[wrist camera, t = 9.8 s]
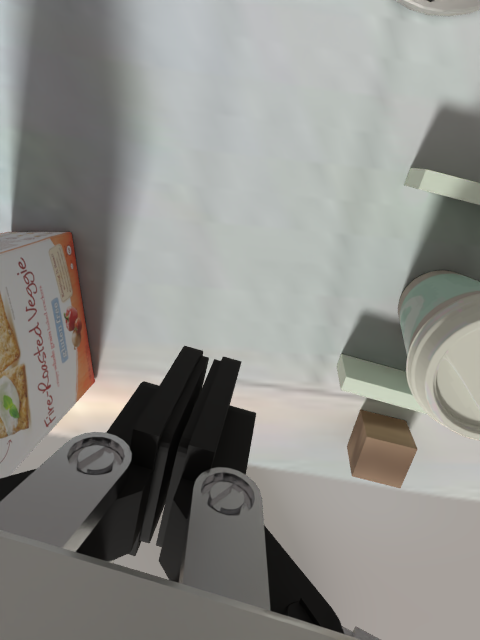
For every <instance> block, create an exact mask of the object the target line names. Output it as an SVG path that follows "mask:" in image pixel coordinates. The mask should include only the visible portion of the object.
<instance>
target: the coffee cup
mask: <svg viewBox="0 0 480 640" xmlns="http://www.w3.org/2000/svg"><path fill="white" fill-rule="evenodd" d="M398 315H399V320H400V325H401V330H402V334H403V339H404V344H405V348H406V353H407V362H406V376H407V381H408V385H409V388H410V391H411V393H412V395H413V397H414V398H415V400H416V401H417V403H418V404H419V405H420V406H421V407H422V408H423V410H424V411H425V412H426V413H427V414H428V415H429V416H430V417H431V418H433V419H434V420H435V421H437V422H438V423H440V424H441V425H443V426H445V427H447V428H448V429H450V430H451V431H453V432H455V433H457V434H459V435H461V436H464V437H467V438H470V439H474V440H478V441H480V282H479V281H476V280H474V279H471V278H469V277H466V276H463V275H461V274H458V273H455V272H452V271H445V270H439V271H432V272H428V273H426V274H423V275H421V276H419V277H418V278H416V279H415V280H413V281H412V282H411V283H410V284H409V285H408V286H407V287H406V288H405V290H404V291H403V293H402V295H401V297H400V300H399V304H398Z"/></svg>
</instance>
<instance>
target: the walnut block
mask: <svg viewBox="0 0 480 640" xmlns="http://www.w3.org/2000/svg"><path fill="white" fill-rule="evenodd" d="M347 449H348V455H349V461H350V467H351V473H352V476H353V477H357V478H361V479H365V480H369V481H373V482H377V483H381V484H385V485H389V486H393V487H397V488H401V485H402V483H403V481H404V479H405V476H406V474H407V472H408V470H409V467H410V465H411V463H412V460H413V458H414V456H415V454H416V451H417V447H416V445H415V442H414V440H413V437H412V435H411V432H410V430H409V427H408V425H407V422H406V421H405V420H401V419H397V418H393V417H389V416H385V415H381V414H376V413H372V412H368V411H364V410H360V412H359V415H358V417H357V420H356V423H355V426H354V428H353V431H352V434H351V437H350V439H349V442H348V445H347Z"/></svg>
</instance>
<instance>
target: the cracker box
mask: <svg viewBox="0 0 480 640" xmlns="http://www.w3.org/2000/svg"><path fill="white" fill-rule="evenodd" d="M94 382H95V379H94V374H93V368H92V361H91V354H90V348H89V343H88V336H87V330H86V323H85V316H84V310H83V303H82V297H81V291H80V284H79V278H78V271H77V264H76V258H75V251H74V245H73V239H72V233H71V232H6V233H1V234H0V478H4V477H8V476H10V475H11V474H12V473H13V472H14V471H15V469H16V468H17V467H18V466H19V465H20V464H21V463H22V462H23V461H24V459H25V458H26V457H27V456H28V455H29V454H30V453H31V452H32V451H33V450H34V448H35V447H36V446H37V445H38V444H39V443H40V442H41V441H42V440H43V439H44V438H45V436H46V435H47V434H48V433H49V432H50V431H51V430H52V429H53V427H54V426H55V425H56V424H57V423H58V422H59V421H60V420H61V419H62V418H63V416H64V415H65V414H66V413H67V412H68V411H69V410H70V409H71V408H72V407H73V406H74V404H75V403H76V402H77V401H78V400H79V399H80V398H81V397H82V396H83V394H84V393H85V392H86V391H87V390H88V389H89V388H90V387H91V386H92V384H93V383H94Z"/></svg>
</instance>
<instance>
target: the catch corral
mask: <svg viewBox="0 0 480 640" xmlns="http://www.w3.org/2000/svg"><path fill="white" fill-rule="evenodd" d="M404 185H405V186H409V187H413V188H416V189H420V190H424V191H428V192H432V193H436V194H439V195H443V196H447V197H451V198H455V199H459V200H462V201H466V202H470V203H474V204H478V205H480V183H477V182H473V181H470V180H466V179H462V178H458V177H454V176H450V175H446V174H443V173H439V172H435V171H431V170H427V169H418V168H410V170H409V173H408V176H407V178H406V181H405V184H404ZM337 371H338V377H339V382H340V388H341V390H342V391H346V392H349V393H353V394H356V395H360V396H364V397H367V398H371V399H374V400H378V401H382V402H385V403H389V404H392V405H396V406H399V407H403V408H407V409H410V410H414V411H417V412H421V413H425V414H427V413H426V412H425V411H424V410H423V408H422V407H421V406H420V405H419V404H418V403H417V401H416V400H415V398H414V397H413V395H412V393H411V391H410V388H409V385H408V381H407V376H406V372H405V371H402V370H398V369H395V368H391V367H387V366H384V365H380V364H376V363H373V362H369V361H366V360H362V359H358V358H355V357H351V356H347V355H344V354H341V356H340V359H339V361H338V364H337Z"/></svg>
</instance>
